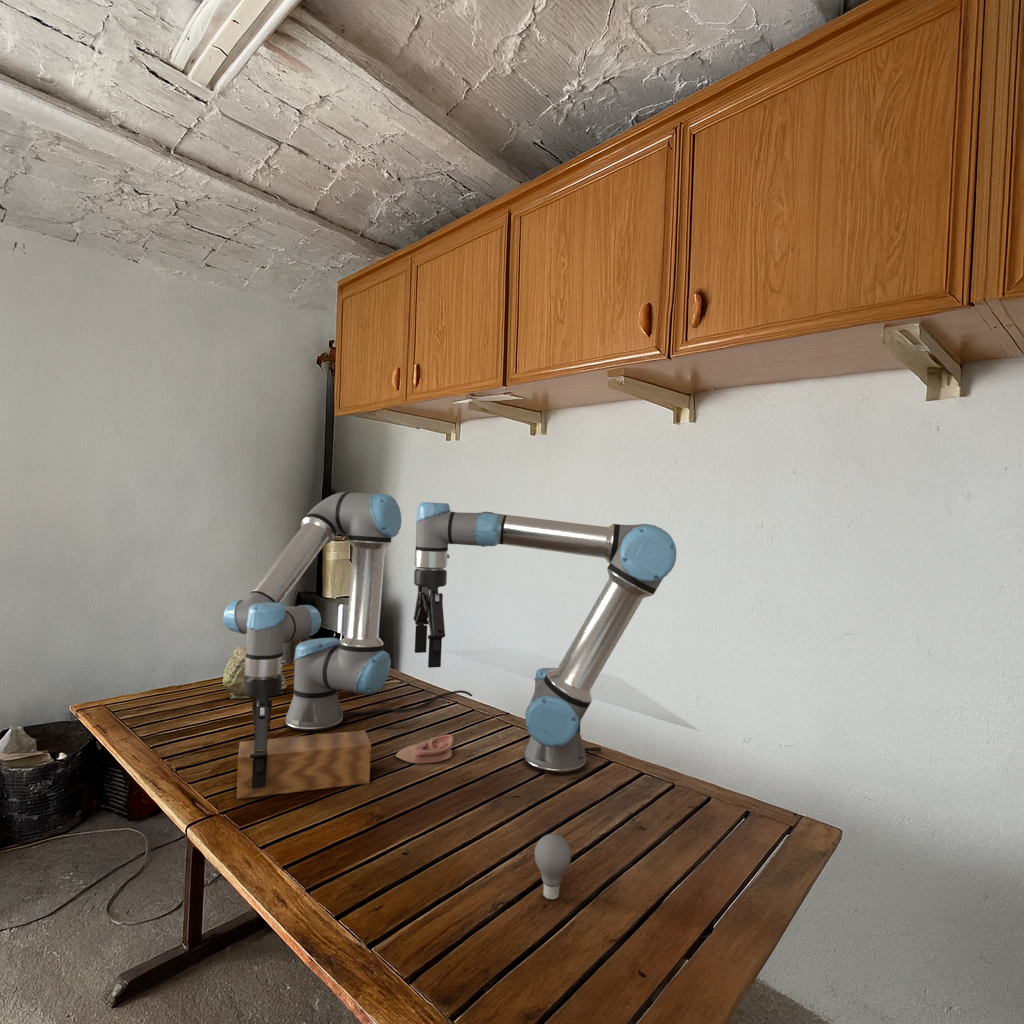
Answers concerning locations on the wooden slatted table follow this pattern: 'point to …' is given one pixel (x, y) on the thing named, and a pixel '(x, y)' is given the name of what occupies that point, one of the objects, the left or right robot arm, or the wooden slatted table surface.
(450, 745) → the anatomical model
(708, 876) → the wooden slatted table surface
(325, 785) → the box
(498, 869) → the wooden slatted table surface
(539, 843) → the light bulb
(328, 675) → the left robot arm
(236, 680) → the fossil
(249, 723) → the wooden slatted table surface
